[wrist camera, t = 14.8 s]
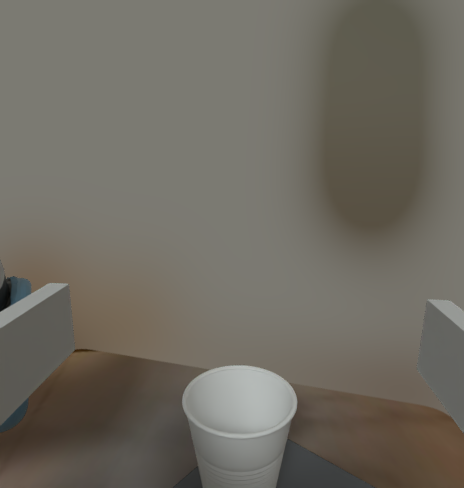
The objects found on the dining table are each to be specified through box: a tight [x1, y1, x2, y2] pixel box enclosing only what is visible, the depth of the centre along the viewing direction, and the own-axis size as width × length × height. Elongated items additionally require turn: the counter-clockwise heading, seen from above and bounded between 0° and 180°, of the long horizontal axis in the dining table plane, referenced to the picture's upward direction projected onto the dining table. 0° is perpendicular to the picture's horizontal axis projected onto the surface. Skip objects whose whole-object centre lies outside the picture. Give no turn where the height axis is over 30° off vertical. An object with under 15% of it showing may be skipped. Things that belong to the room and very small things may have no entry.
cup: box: [182, 365, 298, 488], centre depth 32 cm, size 10×10×11 cm
